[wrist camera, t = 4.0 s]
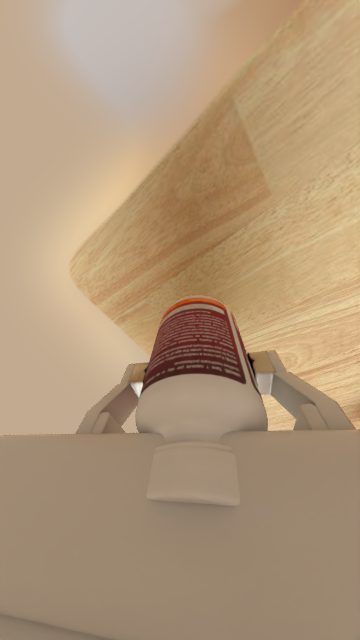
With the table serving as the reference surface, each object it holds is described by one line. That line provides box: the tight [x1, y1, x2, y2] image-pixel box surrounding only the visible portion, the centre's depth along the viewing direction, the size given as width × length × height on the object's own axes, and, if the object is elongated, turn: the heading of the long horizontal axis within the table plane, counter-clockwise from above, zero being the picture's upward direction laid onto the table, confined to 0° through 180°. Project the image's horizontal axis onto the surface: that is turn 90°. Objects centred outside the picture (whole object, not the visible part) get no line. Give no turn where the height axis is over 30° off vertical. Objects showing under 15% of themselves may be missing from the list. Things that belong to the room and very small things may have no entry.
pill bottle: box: [136, 295, 268, 506], centre depth 10 cm, size 6×6×11 cm
